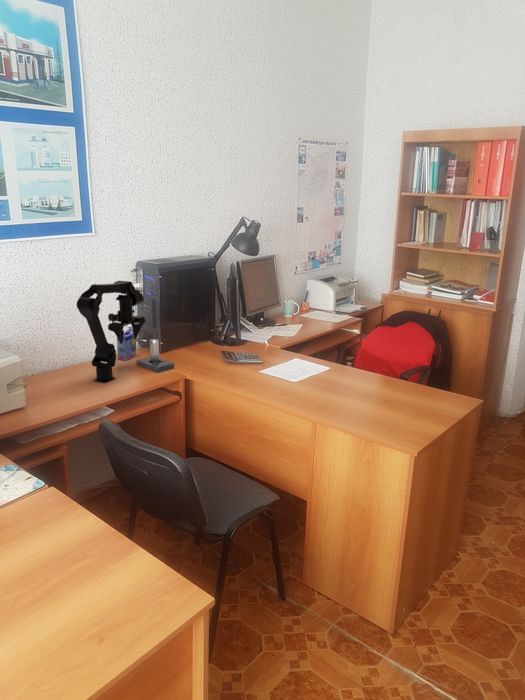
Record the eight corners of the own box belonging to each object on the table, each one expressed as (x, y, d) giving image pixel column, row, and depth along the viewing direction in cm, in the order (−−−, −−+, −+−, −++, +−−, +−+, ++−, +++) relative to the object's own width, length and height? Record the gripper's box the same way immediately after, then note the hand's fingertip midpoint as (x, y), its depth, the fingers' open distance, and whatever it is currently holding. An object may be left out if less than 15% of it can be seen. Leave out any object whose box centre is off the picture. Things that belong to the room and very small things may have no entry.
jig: (156, 372, 255) (156, 367, 254) (136, 364, 265) (136, 359, 265) (174, 368, 262) (174, 363, 261) (154, 360, 272) (154, 355, 272)
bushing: (155, 368, 261) (154, 341, 257) (149, 367, 263) (148, 340, 259) (161, 366, 264) (160, 339, 261) (154, 364, 266) (153, 338, 262)
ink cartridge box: (127, 360, 271) (125, 332, 267) (117, 359, 273) (115, 331, 269) (137, 355, 280) (135, 327, 276) (127, 354, 282) (126, 326, 278)
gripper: (127, 302, 264) (129, 333, 269) (97, 310, 249) (100, 343, 254) (145, 305, 259) (147, 337, 263) (116, 313, 243) (118, 347, 248)
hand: (128, 341), depth 257 cm, fingers open, 9 cm apart
